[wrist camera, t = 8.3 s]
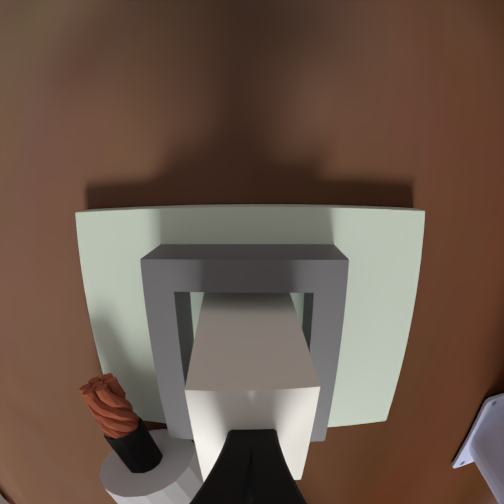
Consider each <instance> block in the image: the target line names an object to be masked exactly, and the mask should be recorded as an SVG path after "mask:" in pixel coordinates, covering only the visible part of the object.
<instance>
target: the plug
mask: <svg viewBox="0 0 504 504" xmlns="http://www.w3.org/2000/svg"><path fill="white" fill-rule="evenodd" d="M319 391H320V384H319V381H318V377H317V374H316V371H315V368H314V365H313V362H312V359H311V356H310V352H309V349H308V346H307V343H306V340H305V337H304V334H303V331H302V328H301V325H300V322H299V319H298V316H297V313H296V310H295V307H294V304H293V301H292V298H291V295H290V293H215V292H204V295H203V300H202V305H201V309H200V314H199V319H198V324H197V329H196V334H195V339H194V344H193V349H192V354H191V359H190V364H189V369H188V375H187V380H186V385H185V395H186V401H187V406H188V411H189V417H190V422H191V427H192V432H193V437H194V441H195V446H196V451H197V455H198V460H199V464H200V469H201V473H202V477H203V481H205V480H206V478H207V476H208V475H209V473H210V471H211V469H212V468H213V466H214V464H215V462H216V460H217V458H218V456H219V454H220V452H221V450H222V448H223V445H224V443H225V440H226V437H227V434H228V432H229V431H230V430H250V429H274V430H276V431H277V435H278V439H279V443H280V447H281V450H282V453H283V455H284V458H285V461H286V463H287V466H288V468H289V470H290V472H291V475H292V477H293V479H294V480H300V479H301V477H302V473H303V469H304V465H305V460H306V456H307V451H308V447H309V442H310V438H311V433H312V428H313V423H314V418H315V413H316V408H317V402H318V397H319Z"/></svg>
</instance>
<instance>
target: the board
mask: <svg viewBox="0 0 504 504" xmlns="http://www.w3.org/2000/svg"><path fill="white" fill-rule="evenodd" d="M75 214H76V226H77V236H78V246H79V254H80V262H81V269H82V276H83V282H84V289H85V295H86V300H87V306H88V311H89V316H90V321H91V326H92V330H93V335H94V339H95V344H96V348H97V352H98V356H99V360H100V364H101V368H102V372H103V375H105V374H108V373H112V375H113V377H116V378H117V380H118V383H119V384H120V386H121V387H122V388H123V390H124V391H125V393H126V398H125V399H126V400H128V401H129V402H130V403H131V404H132V407H133V412H135V413H136V414H137V415H138V416H139V417H140V418H141V419H142V420H144V421H151V422H159V423H166V424H167V428H168V432H169V436H170V437H173V438H182V439H192V440H194V437H193V432H192V427H191V422H190V417H189V411H188V406H187V401H186V395H185V385H186V380H187V375H188V369H189V364H190V359H191V354H192V349H193V344H194V339H195V334H196V329H197V324H198V319H199V314H200V309H201V305H202V300H203V295H204V292H215V293H290V295H291V298H292V301H293V304H294V307H295V310H296V313H297V316H298V319H299V322H300V325H301V328H302V331H303V334H304V337H305V340H306V343H307V346H308V349H309V352H310V356H311V359H312V362H313V365H314V368H315V371H316V374H317V377H318V381H319V384H320V391H319V397H318V402H317V408H316V413H315V418H314V423H313V428H312V433H311V438H310V442H314V441H325V437H326V432H327V427H335V426H346V425H355V424H364V423H372V422H379V421H386V419H387V416H388V412H389V409H390V406H391V403H392V399H393V396H394V392H395V389H396V385H397V381H398V378H399V374H400V370H401V366H402V362H403V358H404V353H405V349H406V344H407V340H408V335H409V330H410V325H411V320H412V315H413V309H414V303H415V297H416V291H417V284H418V277H419V270H420V262H421V253H422V244H423V233H424V220H425V211H423V210H419V209H415V208H401V207H379V206H351V205H308V204H218V205H174V206H146V207H124V208H105V209H88V210H84V211H80V212H76V213H75Z"/></svg>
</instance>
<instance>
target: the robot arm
mask: <svg viewBox="0 0 504 504" xmlns="http://www.w3.org/2000/svg"><path fill="white" fill-rule="evenodd" d="M471 462H475V463H476V465H477V467H478V468H479V470H480V472H481V473H482V475H483V477H484V479H485V480H486V482H487V484H488V486H489V487H490V489H491V491H492V493H493V494H494V496H495V498H496V500H497V502H498V503H499V504H504V393H502V394H499V395H496V396H493V397H489V398H487V399H486V400H485V401H484V403H483V405H482V407H481V409H480V412H479V414H478V416H477V418H476V420H475V422H474V424H473V426H472V428H471V430H470V432H469V434H468V436H467V438H466V440H465V442H464V443H463V445H462V447H461V449H460V451H459V452H458V454H457V456H456V458H455V459H454V461H453V463H452V467H453V468H457V467H460V466H463V465H466V464H469V463H471ZM251 498H252V500H253V504H307V503H306V501H305V499H304V498H303V496H302V494H301V492H300V491H299V489H298V487H297V485H296V483H295V481H294V479H293V477H292V475H291V472H290V470H289V468H288V466H287V463H286V461H285V458H284V455H283V453H282V450H281V447H280V443H279V439H278V435H277V431H276V430H274V429H250V430H230V431H229V432H228V434H227V437H226V440H225V443H224V445H223V448H222V450H221V452H220V454H219V456H218V458H217V460H216V462H215V464H214V466H213V468H212V469H211V471H210V473H209V475H208V476H207V478H206V480H205V481H204V483H203V485H202V486H201V488H200V489H199V491H198V492H197V493H196V495H195V496H194V498H193V499H192V501H191V502H190V503H189V504H251Z"/></svg>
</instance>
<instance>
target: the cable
mask: <svg viewBox="0 0 504 504" xmlns="http://www.w3.org/2000/svg"><path fill="white" fill-rule="evenodd" d="M88 382H89V384H86V385H83V386H82V387H81V388H80V389H79V390H80V392H81V394H82V397H83V399H84V401H85V403H86V405H87V407H88V409H89V411H90V412H91V414H92V415H93V416H94V417H95V419H96V422H97V423H98V425H99V426H100V427H101V429H102V430H103V432H104V436H105V438H106V440H107V441H108V442H109V444H110V445H111V447H112V448H113V450H112V452H111V453H110V454H109V455H108V456H107V457H106V458H105V459H104V462H103V464H102V466H101V468H100V476H99V478H100V480H101V482H102V484H103V486H104V488H105V489H106V491H107V492H108V493H109V494H110V495H111V496H112V497H113V499H114V500H115V501H116V502H117V503H118V504H189V503H190V502H191V501H192V499H193V498H194V496H195V495H196V493H197V492H198V491H199V489H200V488H201V486H202V485H203V483H204V481H203V477H202V473H201V469H200V464H199V460H198V455H197V451H196V447H195V445H194V444H193V442H192V441H191V439H182V438H173V437H170V436H169V432H168V429H158V430H151V431H148V429H147V428H146V426H145V424H144V422H143V421H142V419H141V418H140V417H139V416H138V415H137V414H136V413H135V412H133V407H132V404H131V403H130V402H129V401H128V400H126V399H125V398H126V393H125V391H124V390H123V388H122V387H121V386H120V384H119V383H118V380H117V378H116V377H113V375H112V373H108V374H105V375H103V376H102V377H101V378H99V377H95V378H92V379H91V380H89V381H88Z"/></svg>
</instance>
